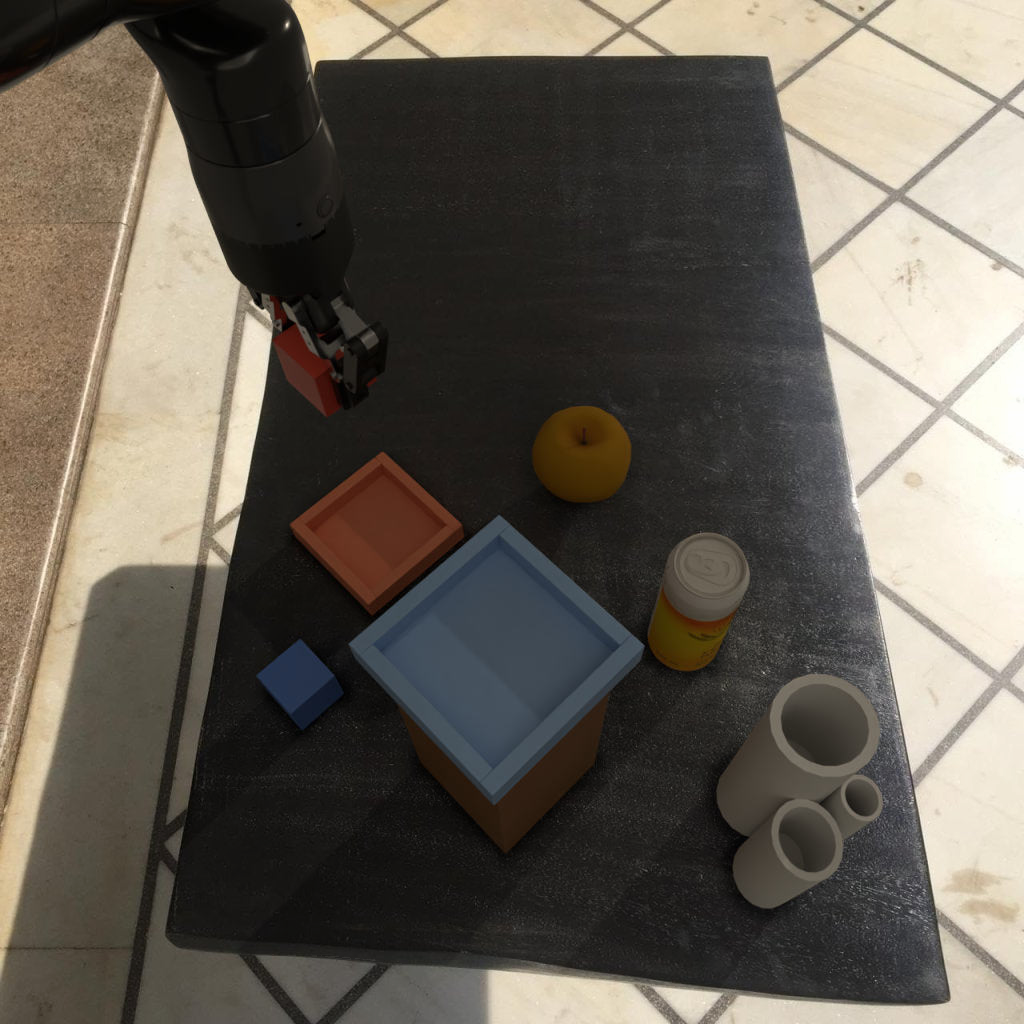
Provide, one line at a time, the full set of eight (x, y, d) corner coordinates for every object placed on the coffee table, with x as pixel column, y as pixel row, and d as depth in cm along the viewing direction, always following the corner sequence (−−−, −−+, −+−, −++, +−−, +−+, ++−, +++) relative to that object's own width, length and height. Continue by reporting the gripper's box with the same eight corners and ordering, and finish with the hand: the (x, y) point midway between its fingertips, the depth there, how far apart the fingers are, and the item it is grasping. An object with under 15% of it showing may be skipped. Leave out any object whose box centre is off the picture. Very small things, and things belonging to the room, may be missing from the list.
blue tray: (505, 873, 74) (492, 796, 51) (402, 761, 79) (347, 643, 55) (612, 763, 78) (645, 645, 55) (508, 662, 82) (499, 514, 59)
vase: (706, 763, 78) (756, 681, 60) (794, 750, 78) (868, 665, 61) (742, 913, 73) (808, 870, 55) (835, 898, 73) (930, 852, 55)
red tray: (372, 615, 85) (368, 605, 83) (294, 536, 89) (289, 524, 87) (464, 537, 88) (462, 524, 86) (386, 464, 92) (382, 450, 90)
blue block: (302, 730, 80) (290, 714, 76) (269, 693, 82) (255, 675, 78) (344, 693, 81) (334, 675, 77) (311, 657, 83) (299, 638, 79)
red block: (327, 418, 66) (314, 378, 62) (286, 380, 68) (271, 339, 64) (377, 380, 68) (367, 339, 64) (336, 344, 69) (324, 302, 65)
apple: (635, 520, 89) (645, 469, 81) (538, 531, 88) (539, 481, 81) (618, 438, 93) (626, 382, 85) (526, 448, 93) (525, 393, 85)
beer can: (708, 683, 81) (742, 614, 68) (638, 661, 82) (658, 589, 69) (724, 619, 84) (760, 540, 71) (656, 599, 85) (679, 518, 72)
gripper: (141, 159, 54) (226, 351, 69) (300, 298, 49) (355, 474, 64) (249, 94, 56) (309, 294, 71) (412, 221, 51) (439, 407, 66)
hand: (330, 378), depth 67 cm, fingers closed on red block, 4 cm apart
